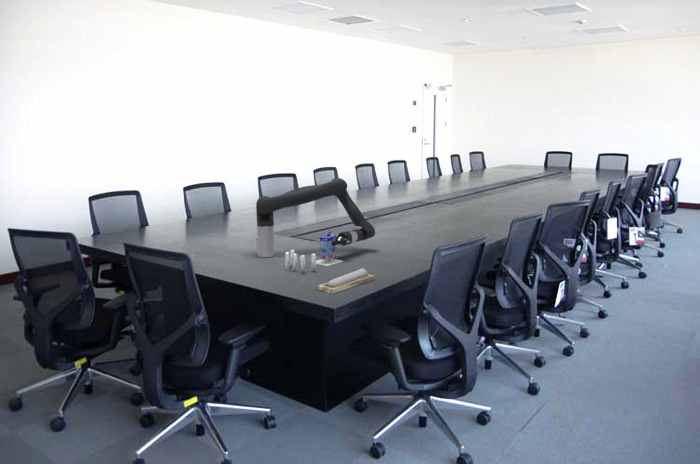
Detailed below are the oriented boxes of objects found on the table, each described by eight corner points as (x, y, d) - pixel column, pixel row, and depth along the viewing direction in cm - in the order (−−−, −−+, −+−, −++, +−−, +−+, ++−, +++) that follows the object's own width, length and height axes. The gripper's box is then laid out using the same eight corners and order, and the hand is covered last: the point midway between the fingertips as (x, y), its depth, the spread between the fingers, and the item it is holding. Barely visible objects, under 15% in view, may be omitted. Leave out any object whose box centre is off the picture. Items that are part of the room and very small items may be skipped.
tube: (336, 284, 239) (369, 271, 259) (327, 278, 242) (360, 266, 261) (333, 294, 241) (366, 281, 261) (324, 288, 244) (357, 276, 263)
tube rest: (317, 289, 243) (317, 285, 243) (358, 276, 265) (358, 272, 265) (332, 293, 238) (332, 289, 237) (374, 279, 260) (374, 275, 259)
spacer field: (281, 268, 279) (281, 251, 278) (292, 265, 285) (292, 249, 284) (306, 274, 268) (305, 256, 267) (317, 271, 274) (316, 253, 273)
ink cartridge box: (328, 260, 286) (328, 233, 283) (319, 259, 288) (318, 232, 285) (336, 256, 295) (335, 229, 292) (326, 255, 297) (326, 229, 294)
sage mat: (310, 263, 291) (310, 262, 291) (327, 258, 301) (327, 257, 301) (327, 266, 284) (327, 265, 284) (343, 261, 294) (343, 260, 293)
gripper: (337, 229, 307) (317, 234, 294) (357, 232, 298) (337, 237, 285) (338, 242, 308) (317, 248, 296) (357, 246, 299) (337, 251, 287)
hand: (327, 242), depth 291 cm, fingers closed on ink cartridge box, 6 cm apart
